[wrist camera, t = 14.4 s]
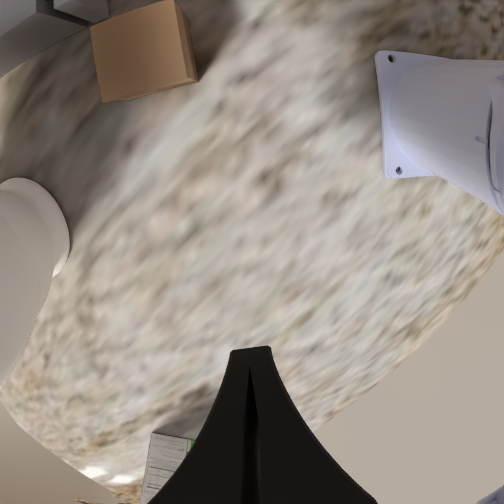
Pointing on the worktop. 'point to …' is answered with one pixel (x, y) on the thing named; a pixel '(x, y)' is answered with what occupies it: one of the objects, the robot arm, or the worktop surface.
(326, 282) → the worktop surface
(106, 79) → the walnut block
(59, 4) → the grey drawer
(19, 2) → the block
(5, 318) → the jar
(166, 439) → the syrup box
